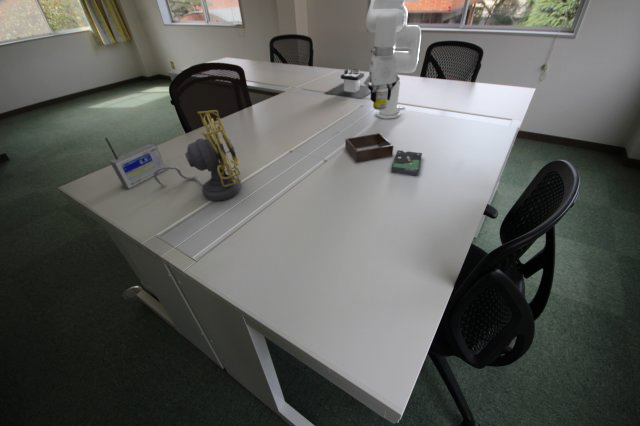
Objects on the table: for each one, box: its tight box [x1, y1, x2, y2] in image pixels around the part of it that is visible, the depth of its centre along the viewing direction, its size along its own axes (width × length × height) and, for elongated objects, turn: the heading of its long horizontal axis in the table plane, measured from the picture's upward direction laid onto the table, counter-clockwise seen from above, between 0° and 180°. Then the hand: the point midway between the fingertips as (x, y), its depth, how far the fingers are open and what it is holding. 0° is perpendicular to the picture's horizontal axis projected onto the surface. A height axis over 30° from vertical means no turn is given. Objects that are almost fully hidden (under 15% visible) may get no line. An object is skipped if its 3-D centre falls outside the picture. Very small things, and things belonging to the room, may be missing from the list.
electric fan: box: [153, 109, 242, 202], centre depth 101 cm, size 26×32×30 cm
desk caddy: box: [344, 132, 394, 164], centre depth 129 cm, size 17×14×5 cm
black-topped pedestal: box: [325, 68, 371, 100], centre depth 198 cm, size 28×26×13 cm
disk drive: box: [390, 149, 423, 176], centre depth 119 cm, size 10×3×15 cm
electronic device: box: [105, 137, 167, 190], centre depth 116 cm, size 17×7×20 cm, turn 148°
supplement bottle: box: [372, 84, 388, 111], centre depth 121 cm, size 6×6×10 cm
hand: (380, 99), depth 122 cm, fingers closed on supplement bottle, 5 cm apart
